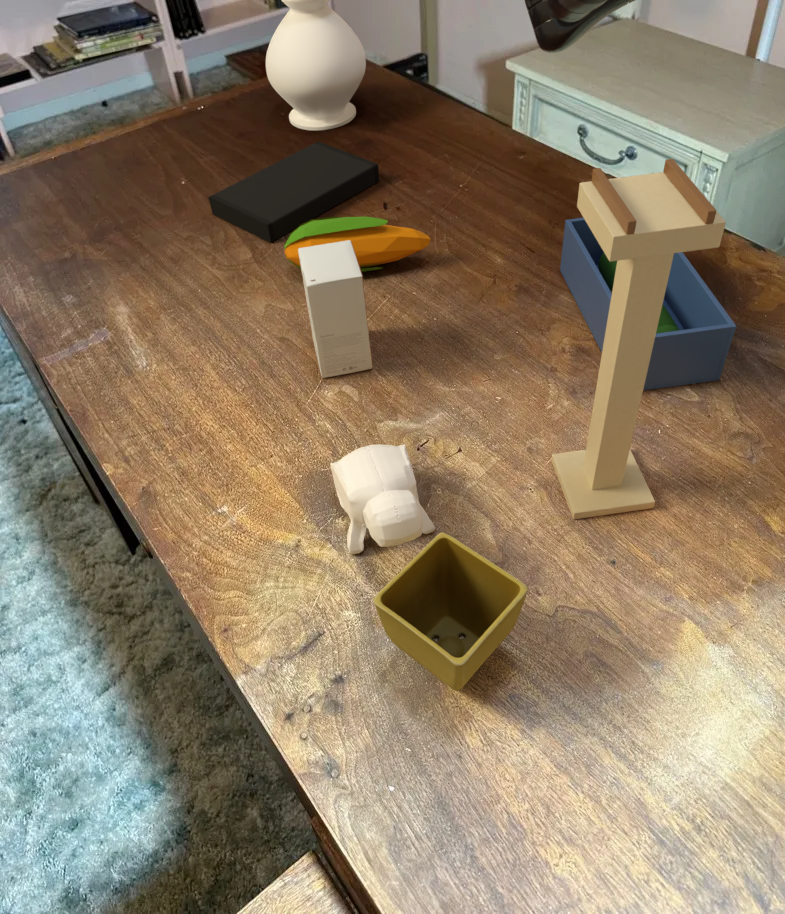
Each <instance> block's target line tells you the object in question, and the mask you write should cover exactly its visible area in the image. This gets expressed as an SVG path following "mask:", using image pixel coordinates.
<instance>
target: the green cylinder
mask: <svg viewBox="0 0 785 914" xmlns="http://www.w3.org/2000/svg"><path fill="white" fill-rule="evenodd" d="M616 266H617V261H611V262H610V261H609V260H608V258H607V256H606V255H605V253H603V254H602V256H601V257H600V260H599V263H598V269H599V272H600V274H601V275H602V277H603V279H604V281H605V282H606V284H607V286H608V288H609V289H610V291H611V293H612V290H613V284H614V278H615V272H616ZM672 331H679V328H678V327H677V325H676V323H675V322H674V320H673V319H672V317H671V316H670V314H669V312H668V311H667V309H666V308H665V306H664V305H663V304H662V309H661V313H660V318H659V322H658V327H657V331H656V334H657V333H664V332H672Z"/></svg>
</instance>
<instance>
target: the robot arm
mask: <svg viewBox="0 0 785 914" xmlns="http://www.w3.org/2000/svg"><path fill="white" fill-rule="evenodd" d="M635 1H636V0H524V4H525V7H526V10H527V13H528V16H529V21H530V24H531V26H532V30H533V33H534V38H535V40H536V43H537V45H538V48H540V50H542V51H543V52H545V53H549V54H557V53H561V52H563V51H565V50H567V49H569V48H570V47H571V46H573V45H574V44H575V43H576V42H578V41H579V40H580V39H581V38H582V37H583V36H584V35H585V34H587V32H589V31H590V30H591V29H592V28H594V27H595V26H596V25H597V24H598V23H600V22H601V21H603V20H604V19H605V18H607V17H608V16H609V15H611V14H612V13H614V12H616V11H617V10H619V9H621V8H623V7H625V6H627V5H629V4H631V3H633V2H635Z"/></svg>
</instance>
